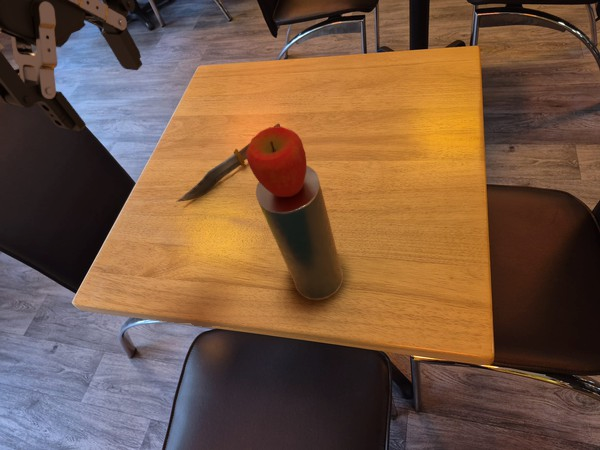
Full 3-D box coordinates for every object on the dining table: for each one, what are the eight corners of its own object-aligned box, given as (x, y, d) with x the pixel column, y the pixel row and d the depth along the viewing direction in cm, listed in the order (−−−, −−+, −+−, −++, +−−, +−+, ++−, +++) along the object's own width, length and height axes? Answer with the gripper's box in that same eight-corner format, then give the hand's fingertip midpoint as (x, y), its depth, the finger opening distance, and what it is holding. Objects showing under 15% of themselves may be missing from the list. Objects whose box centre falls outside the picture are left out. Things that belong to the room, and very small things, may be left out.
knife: (182, 211, 83) (171, 194, 79) (179, 207, 84) (168, 190, 80) (286, 142, 88) (280, 123, 84) (282, 139, 89) (276, 120, 85)
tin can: (332, 306, 65) (303, 219, 48) (286, 291, 68) (244, 204, 51) (350, 263, 69) (329, 168, 52) (306, 251, 72) (273, 157, 55)
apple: (255, 178, 53) (236, 132, 47) (303, 160, 53) (289, 111, 47) (269, 215, 49) (249, 170, 43) (320, 195, 49) (307, 148, 43)
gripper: (8, -150, 32) (122, 47, 45) (-167, -57, 26) (25, 143, 39) (79, -162, 29) (179, 53, 42) (-98, -61, 23) (85, 158, 36)
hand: (106, 96), depth 40 cm, fingers open, 8 cm apart
